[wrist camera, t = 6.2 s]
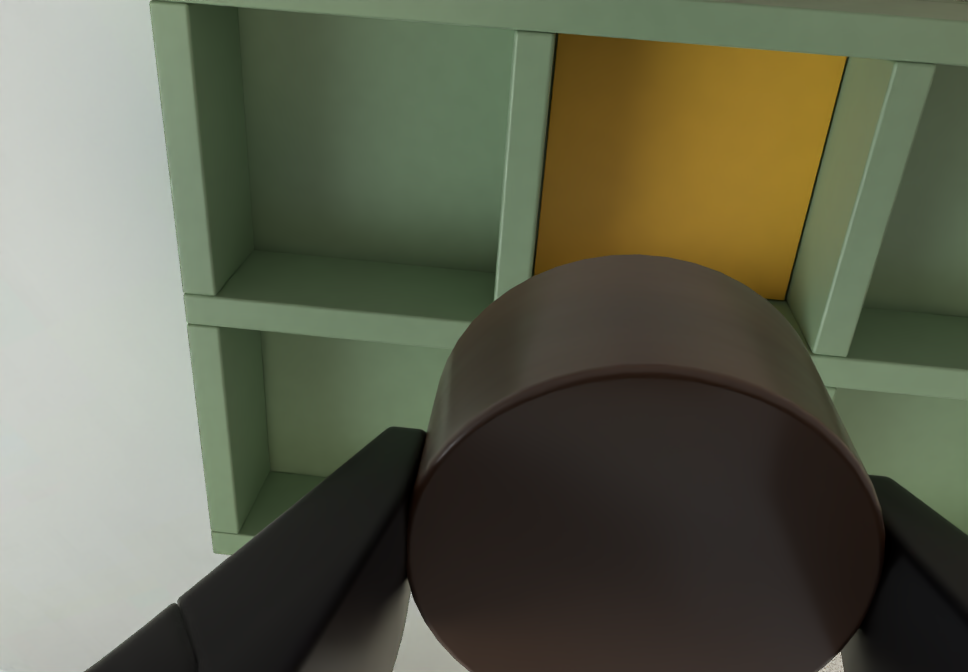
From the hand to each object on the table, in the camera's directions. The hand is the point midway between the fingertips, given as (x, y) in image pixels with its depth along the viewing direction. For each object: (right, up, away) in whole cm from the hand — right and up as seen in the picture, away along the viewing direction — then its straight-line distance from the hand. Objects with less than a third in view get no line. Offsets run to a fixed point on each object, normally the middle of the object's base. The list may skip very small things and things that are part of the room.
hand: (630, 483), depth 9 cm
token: (0, +1, +1) cm, 1 cm away
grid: (+2, +3, +11) cm, 11 cm away
